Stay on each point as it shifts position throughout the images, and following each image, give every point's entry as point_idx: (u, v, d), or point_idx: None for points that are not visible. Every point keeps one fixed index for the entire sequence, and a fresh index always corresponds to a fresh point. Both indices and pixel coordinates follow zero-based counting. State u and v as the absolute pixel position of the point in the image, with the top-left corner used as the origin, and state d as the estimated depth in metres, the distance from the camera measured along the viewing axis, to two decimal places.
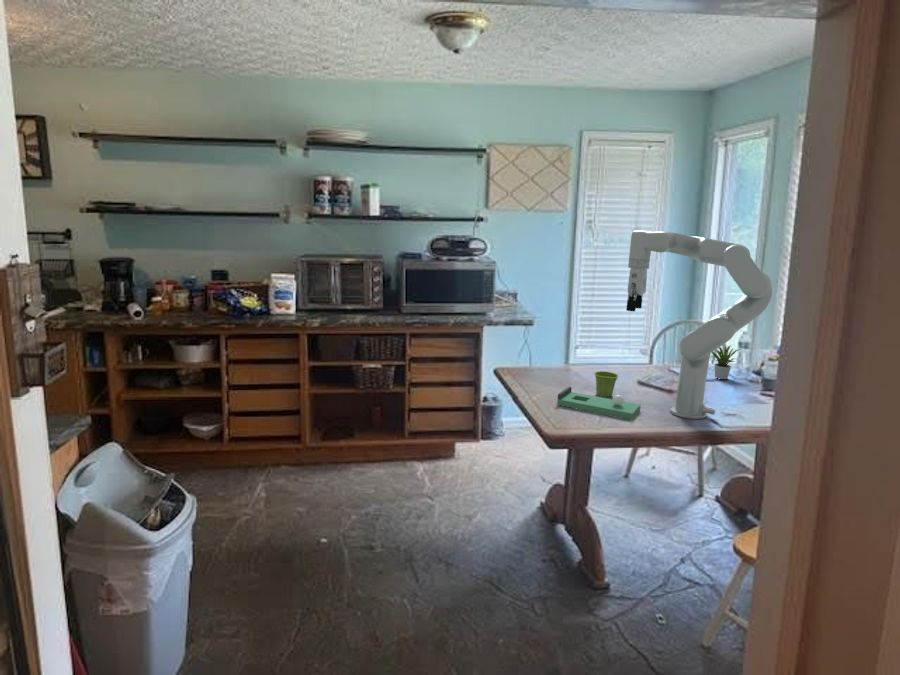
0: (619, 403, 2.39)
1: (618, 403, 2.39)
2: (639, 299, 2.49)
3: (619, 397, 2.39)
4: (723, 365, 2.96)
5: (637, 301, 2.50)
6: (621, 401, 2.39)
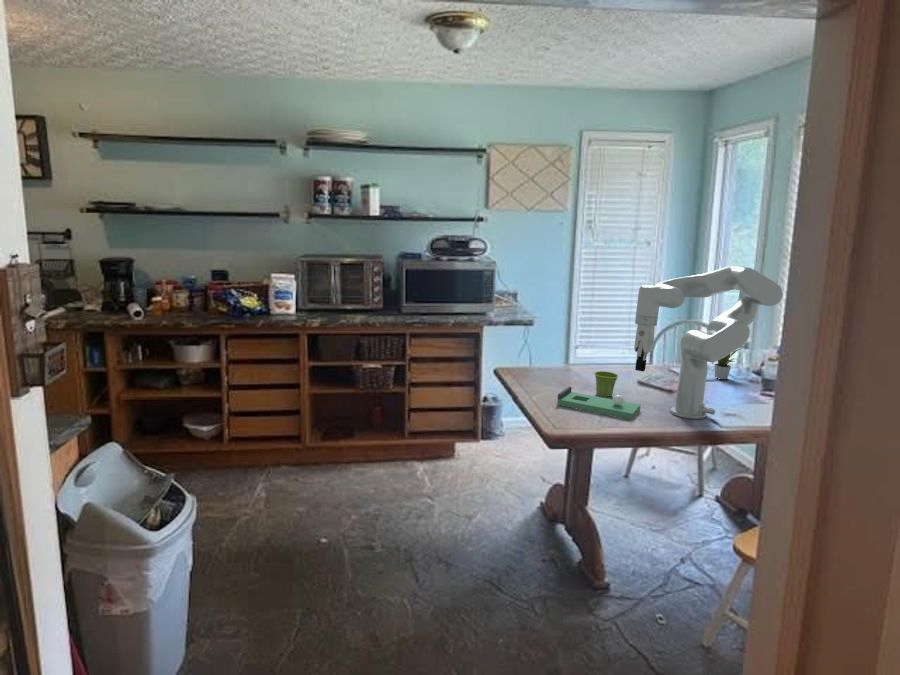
0: (619, 403, 2.39)
1: (618, 403, 2.39)
2: None
3: (619, 397, 2.39)
4: (723, 365, 2.96)
5: None
6: (621, 401, 2.39)
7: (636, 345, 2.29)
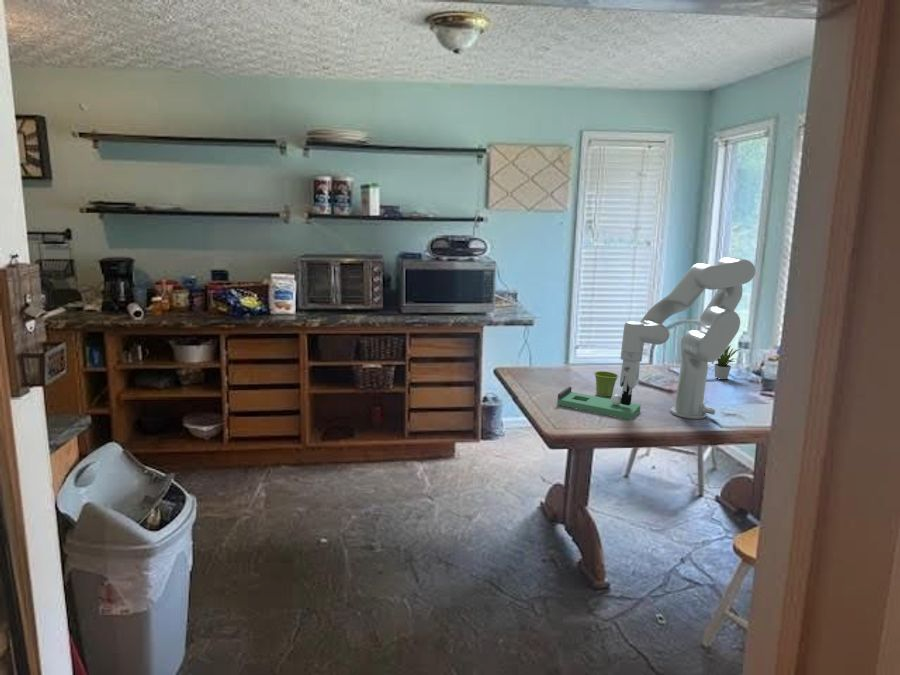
0: (618, 402, 2.39)
1: (617, 402, 2.39)
2: None
3: (616, 396, 2.40)
4: (723, 365, 2.96)
5: None
6: (619, 399, 2.39)
7: (621, 380, 2.34)
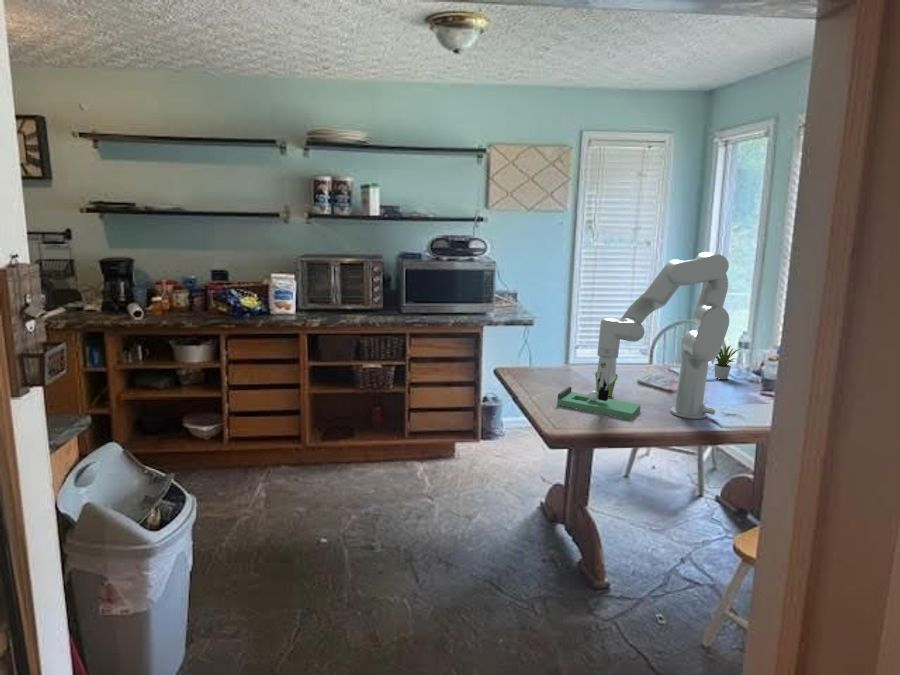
0: (590, 398, 2.44)
1: (590, 397, 2.44)
2: None
3: (596, 399, 2.43)
4: (723, 365, 2.96)
5: None
6: (592, 400, 2.44)
7: (598, 376, 2.38)
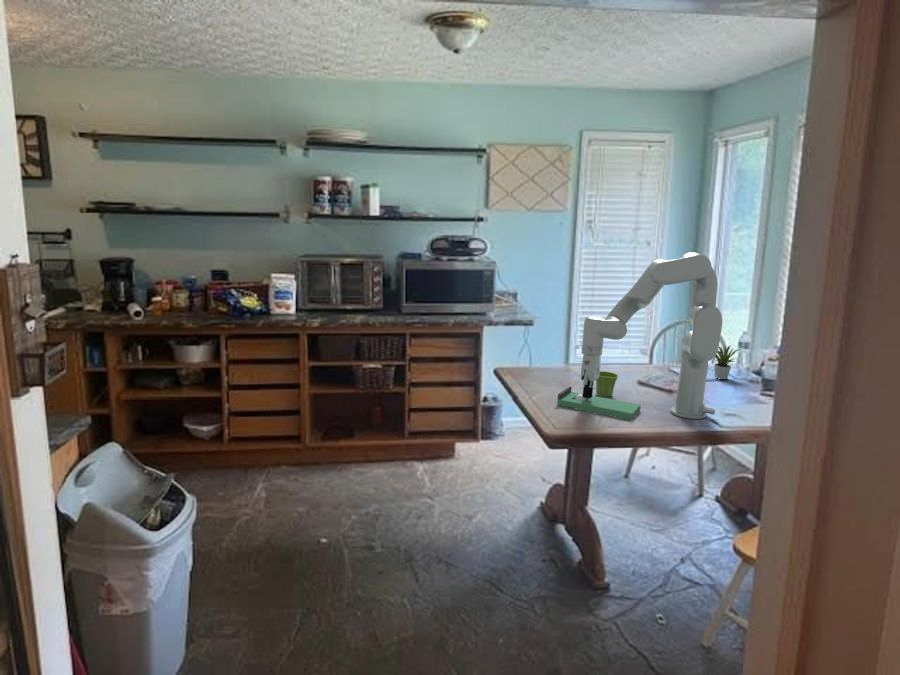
0: (581, 399, 2.46)
1: (580, 399, 2.46)
2: None
3: (576, 397, 2.47)
4: (723, 365, 2.96)
5: None
6: (580, 396, 2.46)
7: (582, 374, 2.40)
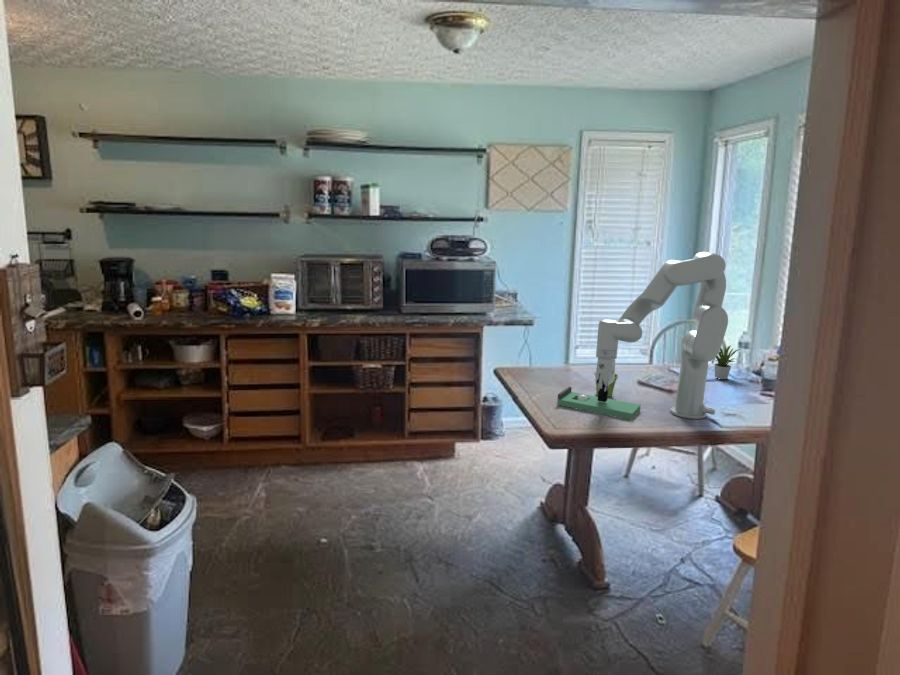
0: (584, 400, 2.45)
1: None
2: None
3: (580, 396, 2.46)
4: (723, 365, 2.96)
5: None
6: (584, 397, 2.46)
7: (597, 377, 2.38)
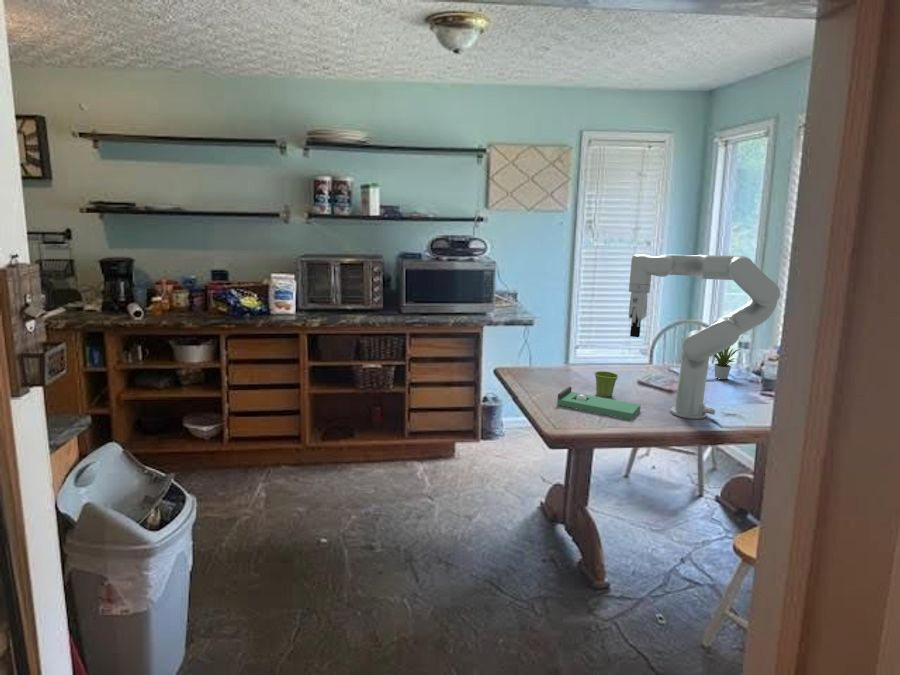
0: (582, 399, 2.46)
1: (582, 400, 2.46)
2: None
3: (577, 396, 2.47)
4: (723, 365, 2.96)
5: None
6: (581, 396, 2.46)
7: (630, 312, 2.40)
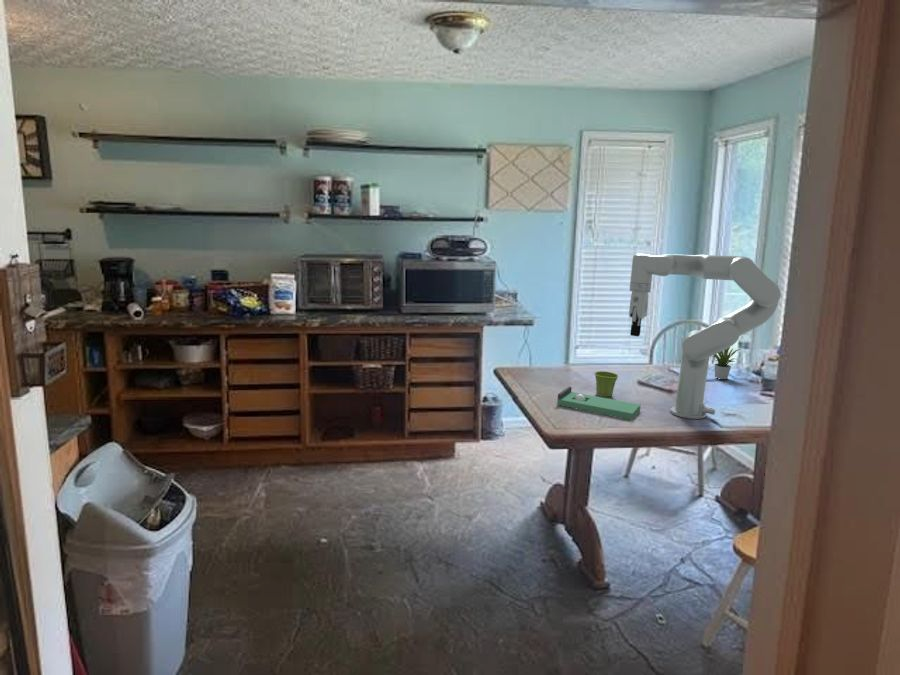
0: (580, 398, 2.46)
1: (580, 399, 2.46)
2: None
3: (575, 397, 2.47)
4: (723, 365, 2.96)
5: None
6: (579, 395, 2.46)
7: (631, 311, 2.40)
